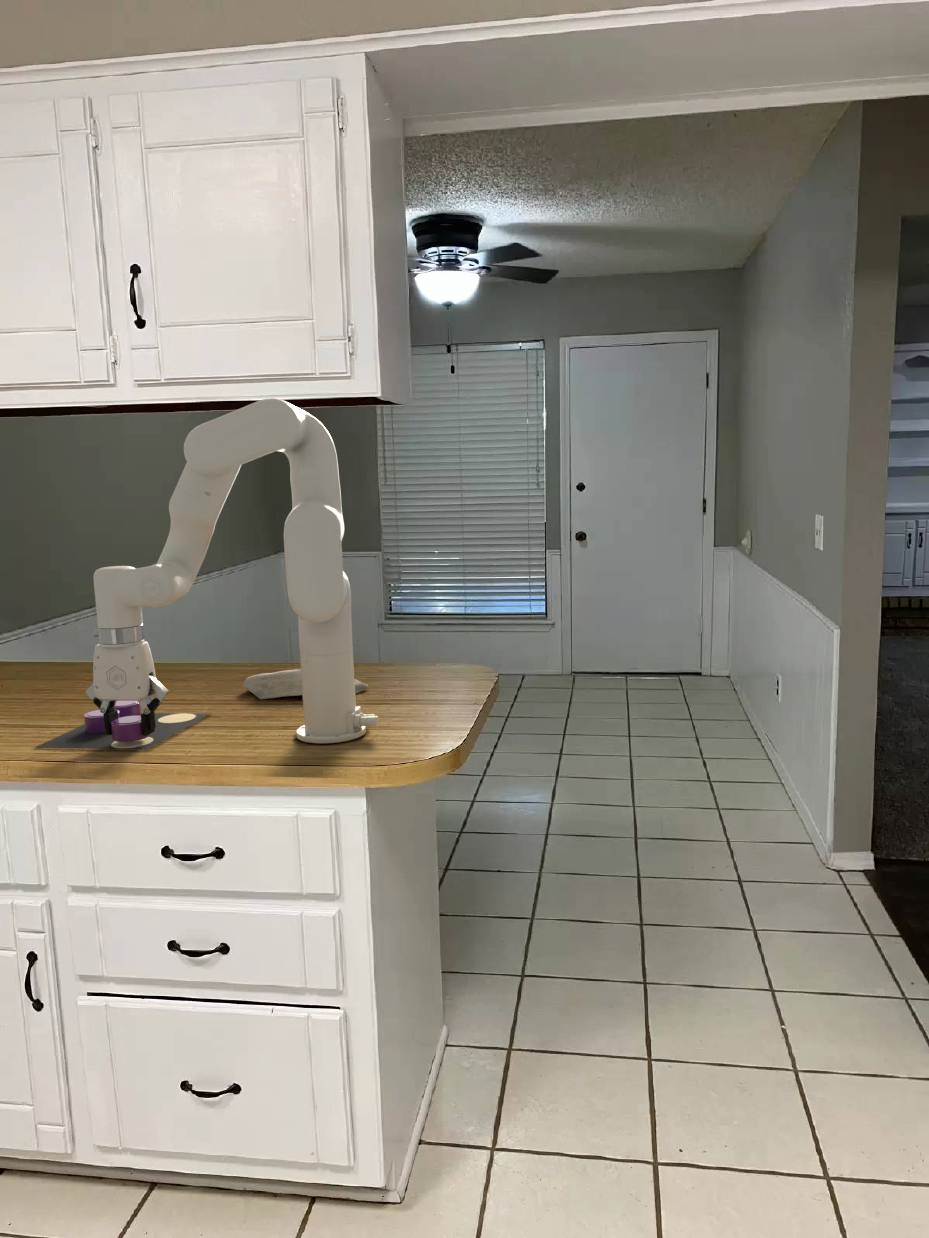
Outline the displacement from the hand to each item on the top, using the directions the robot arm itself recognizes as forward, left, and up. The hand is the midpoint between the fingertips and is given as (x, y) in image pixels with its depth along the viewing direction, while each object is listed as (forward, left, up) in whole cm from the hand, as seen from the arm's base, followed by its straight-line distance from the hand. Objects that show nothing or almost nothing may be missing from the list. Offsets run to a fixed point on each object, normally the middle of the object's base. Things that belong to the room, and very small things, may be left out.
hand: (130, 732), depth 163 cm
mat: (+6, -8, -2) cm, 10 cm away
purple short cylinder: (0, 0, -1) cm, 1 cm away
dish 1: (+11, -8, -2) cm, 14 cm away
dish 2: (+11, -16, -2) cm, 19 cm away
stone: (-17, -40, -2) cm, 44 cm away
